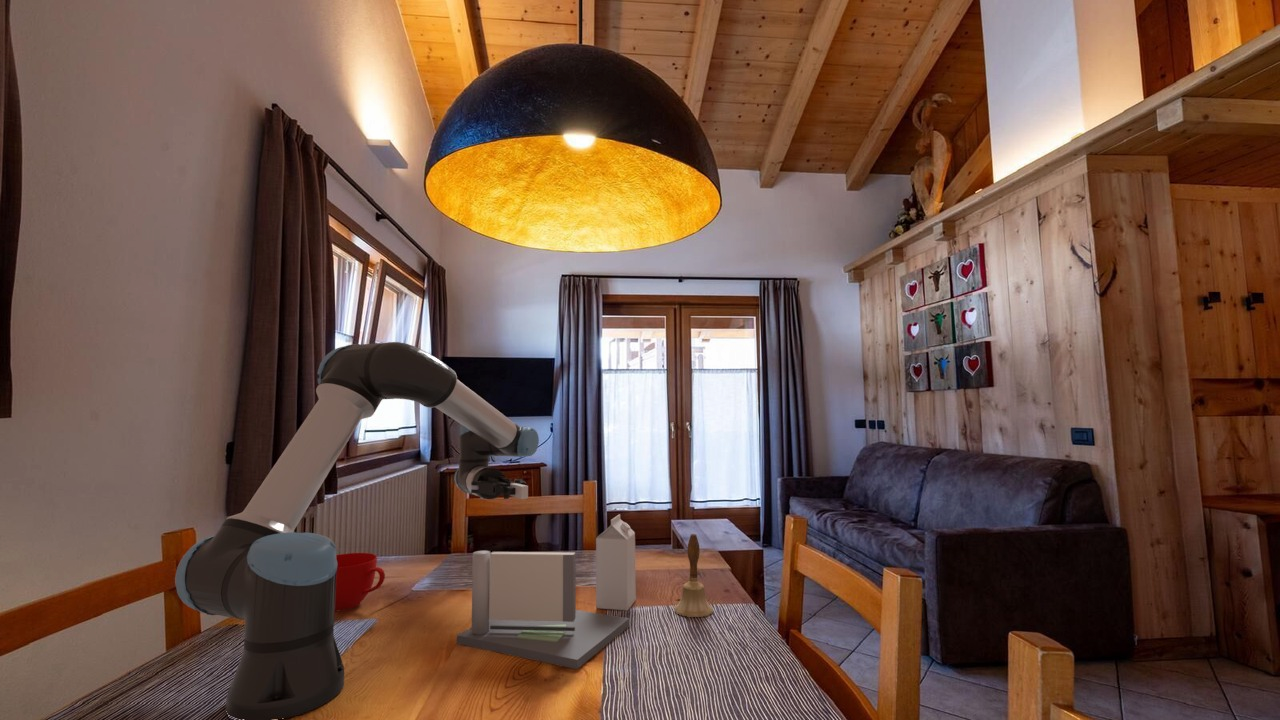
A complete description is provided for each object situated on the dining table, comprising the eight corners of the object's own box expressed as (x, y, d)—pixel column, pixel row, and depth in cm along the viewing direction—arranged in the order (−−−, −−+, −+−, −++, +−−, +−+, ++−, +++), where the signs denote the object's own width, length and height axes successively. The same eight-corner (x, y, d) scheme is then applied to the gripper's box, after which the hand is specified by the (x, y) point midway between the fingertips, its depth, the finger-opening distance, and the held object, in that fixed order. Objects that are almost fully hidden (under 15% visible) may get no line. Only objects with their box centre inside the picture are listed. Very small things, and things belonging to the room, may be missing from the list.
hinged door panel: (468, 634, 102) (470, 554, 104) (475, 627, 106) (476, 550, 107) (572, 636, 101) (572, 555, 102) (576, 629, 104) (576, 551, 105)
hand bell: (712, 604, 121) (711, 530, 123) (713, 618, 113) (712, 539, 115) (674, 603, 122) (673, 530, 124) (673, 617, 114) (672, 538, 116)
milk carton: (596, 609, 119) (595, 519, 121) (605, 598, 126) (605, 513, 128) (627, 611, 118) (626, 520, 120) (635, 600, 125) (635, 514, 126)
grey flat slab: (577, 669, 92) (577, 658, 92) (456, 643, 102) (456, 634, 102) (629, 626, 110) (629, 617, 110) (522, 608, 120) (522, 600, 121)
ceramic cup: (359, 621, 114) (361, 571, 115) (295, 613, 119) (297, 565, 120) (402, 600, 126) (404, 555, 127) (342, 594, 131) (344, 551, 132)
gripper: (510, 495, 142) (552, 507, 123) (459, 500, 134) (495, 513, 115) (511, 465, 142) (552, 473, 123) (460, 468, 135) (496, 476, 116)
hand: (524, 492), depth 119 cm, fingers closed
